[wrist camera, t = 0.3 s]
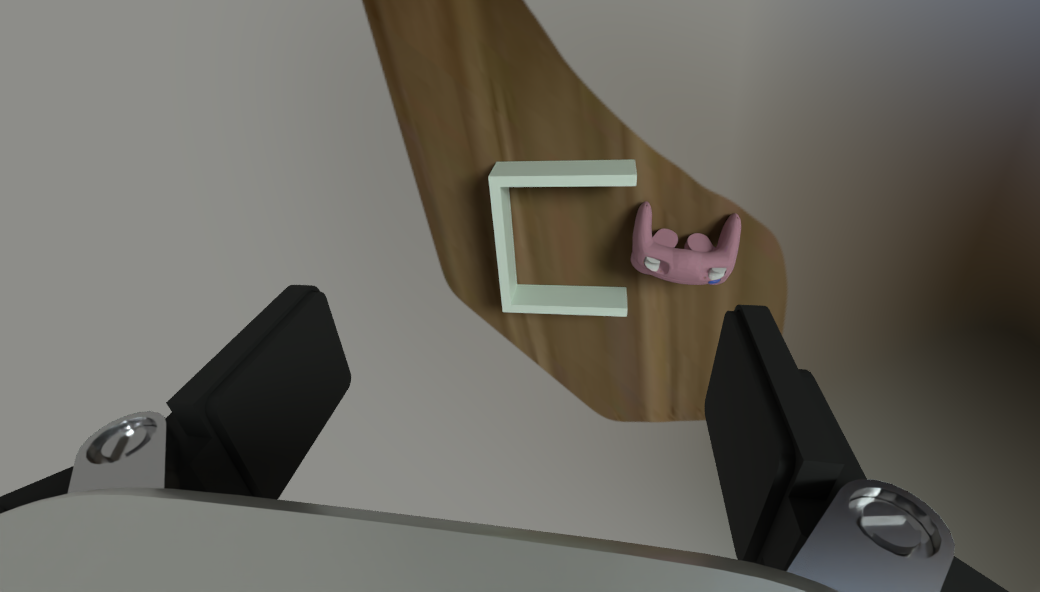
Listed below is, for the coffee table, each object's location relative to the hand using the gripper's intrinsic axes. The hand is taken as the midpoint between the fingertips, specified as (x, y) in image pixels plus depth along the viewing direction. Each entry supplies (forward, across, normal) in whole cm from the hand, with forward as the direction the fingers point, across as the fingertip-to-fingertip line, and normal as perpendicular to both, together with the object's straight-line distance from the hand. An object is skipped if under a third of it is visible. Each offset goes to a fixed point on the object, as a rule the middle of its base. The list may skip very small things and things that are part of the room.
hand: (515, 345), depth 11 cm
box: (+36, +1, +14) cm, 39 cm away
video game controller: (+36, -10, +14) cm, 40 cm away
